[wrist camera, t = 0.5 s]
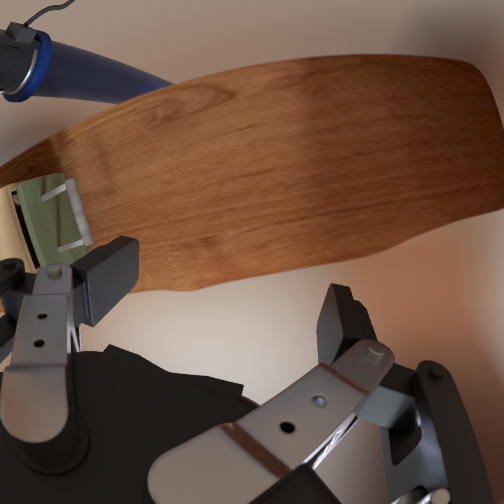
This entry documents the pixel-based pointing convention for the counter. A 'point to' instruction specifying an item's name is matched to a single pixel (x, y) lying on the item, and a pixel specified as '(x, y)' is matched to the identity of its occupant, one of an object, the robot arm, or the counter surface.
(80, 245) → the drawer
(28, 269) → the cabinet
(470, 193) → the counter surface
